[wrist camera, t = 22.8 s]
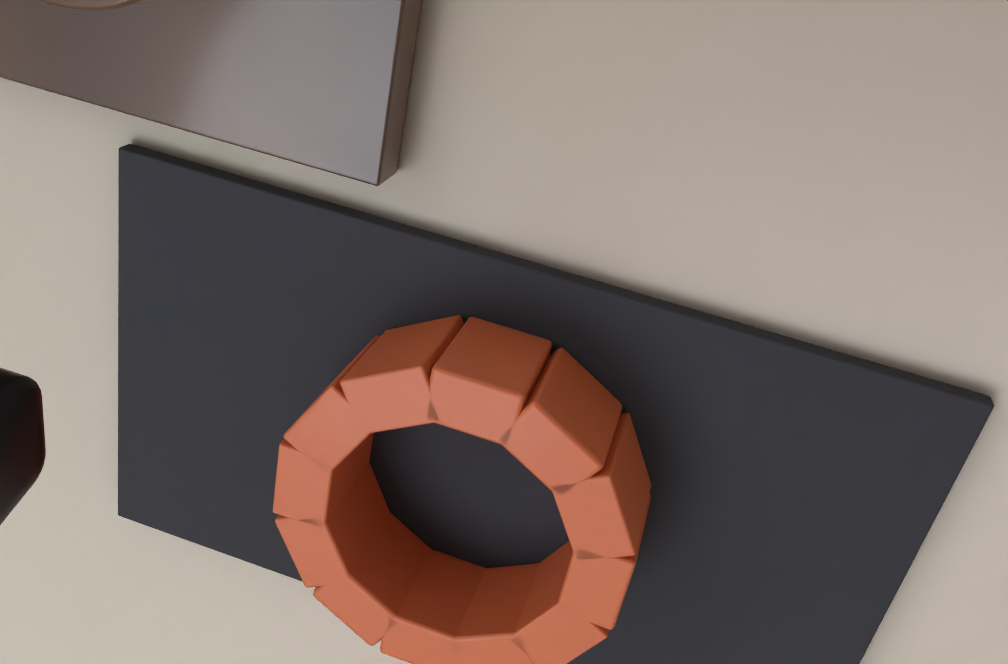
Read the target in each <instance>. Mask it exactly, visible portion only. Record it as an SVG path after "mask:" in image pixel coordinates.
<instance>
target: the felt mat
mask: <svg viewBox="0 0 1008 664" xmlns="http://www.w3.org/2000/svg"><path fill="white" fill-rule="evenodd" d="M456 315H461V317H462V320H463V322H464V324H465V323H466V321H467V320H468V319H469V317H475V318H479V319H482V320H485V321H489V322H492V323H495V324H498V325H502V326H505V327H508V328H511V329H515V330H518V331H521V332H525V333H528V334H531V335H534V336H538V337H541V338H544V339H548V340H550V341H551V343H552V348H551V352H550V355H551V354H552V353H553V352H555V351H556V350H557V349H559V348H563V349H565V350H566V351H567V352H568V353H569V354H570V355H571V356H572V357H573V358H574V359H575V360H576V361H577V362H578V363H579V364H581V365H582V366H583V367H584V368H585V369H586V370H587V371H588V372H589V373H590V374H591V375H592V376H593V377H594V378H595V379H596V380H597V381H598V382H600V383H601V384H602V385H603V386H604V387H605V388H606V389H607V390H608V391H609V392H610V393H611V394H612V395H613V396H614V397H615V398H616V399H617V400H618V401H620V402H621V404H622V406H623V407H622V410H621V413H620V414H623V413H629V414H630V416H631V420H632V423H633V426H634V429H635V433H636V436H637V439H638V443H639V446H640V449H641V452H642V456H643V459H644V462H645V466H646V469H647V472H648V475H649V479H650V482H651V489H650V493H649V494H650V496H651V499H650V503H649V508H648V512H647V517H646V521H645V526H644V530H643V535H642V539H641V543H640V548H639V552H638V557H637V561H636V565H635V568H634V571H633V574H632V577H631V580H630V583H629V586H628V589H627V592H626V594H625V597H624V600H623V603H622V606H621V609H620V612H619V615H618V618H617V621H616V624H615V627H614V628H613V629H612V630H609V633H608V636H607V638H605V639H604V640H602V641H601V642H599V643H598V644H596V645H595V646H593V647H592V648H590V649H589V650H587V651H585V652H584V653H582V654H581V655H579V656H578V657H576V658H575V659H573V660H572V661H570V662H569V663H567V664H859V663H860V661H861V659H862V657H863V655H864V653H865V652H866V650H867V648H868V646H869V644H870V642H871V640H872V638H873V636H874V634H875V632H876V631H877V629H878V627H879V625H880V623H881V621H882V619H883V617H884V615H885V613H886V612H887V610H888V608H889V606H890V604H891V602H892V600H893V598H894V596H895V594H896V592H897V591H898V589H899V587H900V585H901V583H902V581H903V579H904V577H905V575H906V573H907V571H908V570H909V568H910V566H911V564H912V562H913V560H914V558H915V556H916V554H917V552H918V551H919V549H920V547H921V545H922V543H923V541H924V539H925V537H926V535H927V533H928V531H929V530H930V528H931V526H932V524H933V522H934V520H935V518H936V516H937V514H938V512H939V510H940V509H941V507H942V505H943V503H944V501H945V499H946V497H947V495H948V493H949V491H950V490H951V488H952V486H953V484H954V482H955V480H956V478H957V476H958V474H959V472H960V470H961V469H962V467H963V465H964V463H965V461H966V459H967V457H968V455H969V453H970V451H971V450H972V448H973V446H974V444H975V442H976V440H977V438H978V436H979V434H980V432H981V430H982V429H983V427H984V425H985V423H986V421H987V419H988V417H989V415H990V413H991V411H992V409H993V408H994V405H993V402H992V400H991V397H989V396H986V395H983V394H980V393H976V392H973V391H969V390H966V389H963V388H959V387H956V386H952V385H949V384H946V383H942V382H939V381H935V380H932V379H929V378H925V377H922V376H918V375H915V374H912V373H908V372H905V371H901V370H898V369H895V368H891V367H888V366H884V365H881V364H878V363H874V362H871V361H867V360H864V359H860V358H857V357H854V356H850V355H847V354H843V353H840V352H837V351H833V350H830V349H826V348H823V347H820V346H816V345H813V344H809V343H806V342H803V341H799V340H796V339H792V338H789V337H786V336H782V335H779V334H775V333H772V332H769V331H765V330H762V329H758V328H755V327H752V326H748V325H745V324H741V323H738V322H735V321H731V320H728V319H724V318H721V317H718V316H714V315H711V314H707V313H704V312H700V311H697V310H694V309H690V308H687V307H683V306H680V305H677V304H673V303H670V302H666V301H663V300H660V299H656V298H653V297H649V296H646V295H643V294H639V293H636V292H632V291H629V290H626V289H622V288H619V287H615V286H612V285H609V284H605V283H602V282H598V281H595V280H592V279H588V278H585V277H581V276H578V275H575V274H571V273H568V272H564V271H561V270H558V269H554V268H551V267H547V266H544V265H540V264H537V263H534V262H530V261H527V260H523V259H520V258H517V257H513V256H510V255H506V254H503V253H500V252H496V251H493V250H489V249H486V248H483V247H479V246H476V245H472V244H469V243H466V242H462V241H459V240H455V239H452V238H449V237H445V236H442V235H438V234H435V233H432V232H428V231H425V230H421V229H418V228H415V227H411V226H408V225H404V224H401V223H398V222H394V221H391V220H387V219H384V218H380V217H377V216H374V215H370V214H367V213H363V212H360V211H357V210H353V209H350V208H346V207H343V206H340V205H336V204H333V203H329V202H326V201H323V200H319V199H316V198H312V197H309V196H306V195H302V194H299V193H295V192H292V191H289V190H285V189H282V188H278V187H275V186H272V185H268V184H265V183H261V182H258V181H255V180H251V179H248V178H244V177H241V176H238V175H234V174H231V173H227V172H224V171H221V170H217V169H214V168H210V167H207V166H203V165H200V164H197V163H193V162H190V161H186V160H183V159H180V158H176V157H173V156H169V155H166V154H163V153H159V152H156V151H152V150H149V149H146V148H142V147H139V146H135V145H132V144H128V145H125V146H123V147H120V148H119V298H118V515H119V516H122V517H124V518H127V519H130V520H133V521H136V522H138V523H141V524H144V525H147V526H150V527H152V528H155V529H158V530H161V531H163V532H166V533H169V534H172V535H175V536H177V537H180V538H183V539H186V540H189V541H191V542H194V543H197V544H200V545H202V546H205V547H208V548H211V549H214V550H216V551H219V552H222V553H225V554H227V555H230V556H233V557H236V558H239V559H241V560H244V561H247V562H250V563H253V564H255V565H258V566H261V567H264V568H266V569H269V570H272V571H275V572H278V573H280V574H283V575H286V576H289V577H292V578H294V579H297V580H300V581H303V580H302V578H301V576H300V574H299V572H298V570H297V568H296V566H295V563H294V561H293V559H292V557H291V555H290V553H289V551H288V548H287V546H286V544H285V542H284V540H283V538H282V536H281V534H280V531H279V529H278V527H277V525H276V523H275V519H276V518H277V517H278V515H279V514H276V513H274V512H273V503H274V493H275V483H276V473H277V463H278V453H279V444H280V443H281V442H282V441H283V440H284V437H283V436H284V434H285V433H286V431H287V430H288V429H289V428H290V427H291V426H292V425H293V424H294V423H295V422H296V420H297V419H298V418H299V417H300V416H301V415H302V414H303V413H304V412H305V411H306V410H307V408H308V407H309V406H310V405H311V404H312V403H313V402H314V401H315V400H316V399H317V397H318V396H319V395H320V394H321V393H322V392H323V391H324V390H325V389H326V388H327V387H328V385H329V384H330V383H331V382H332V381H333V380H334V379H335V378H336V377H337V376H338V375H339V374H340V373H341V372H342V371H343V370H344V369H345V367H346V366H347V365H348V364H349V363H350V362H351V361H352V360H353V359H354V358H355V357H356V356H357V355H358V354H359V353H360V352H361V351H362V350H363V349H364V348H365V347H366V346H367V344H368V343H369V342H370V341H371V340H372V339H373V338H374V337H375V336H377V335H379V336H381V335H382V334H383V333H384V332H385V331H386V330H389V329H394V328H399V327H404V326H408V325H413V324H418V323H423V322H428V321H432V320H437V319H442V318H447V317H452V316H456ZM369 463H370V465H371V468H372V470H373V472H374V475H375V477H376V480H377V482H378V484H379V487H380V489H381V491H382V494H383V496H384V499H385V501H386V503H387V506H388V508H389V511H390V512H391V513H392V514H393V515H394V516H395V517H396V518H398V519H399V520H400V521H401V522H402V523H403V524H404V525H405V526H406V527H408V528H409V529H410V530H411V531H412V532H413V533H414V534H415V535H416V536H418V537H419V538H420V539H421V540H422V541H423V542H424V543H425V544H426V545H428V546H429V547H430V548H431V549H433V550H436V551H439V552H441V553H444V554H447V555H450V556H453V557H456V558H459V559H462V560H465V561H468V562H470V563H473V564H476V565H479V566H482V567H485V568H494V567H504V566H514V565H524V564H534V563H540V562H541V561H543V560H544V559H545V558H547V557H548V556H549V555H551V554H552V553H554V552H555V551H556V550H558V549H559V548H560V547H562V546H563V545H564V544H566V543H567V542H568V541H569V538H568V535H567V532H566V529H565V527H564V524H563V521H562V518H561V515H560V512H559V509H558V506H557V503H556V501H555V498H554V495H553V492H552V491H551V490H550V489H549V488H548V487H547V486H546V485H545V484H544V483H543V482H541V481H540V480H539V479H538V478H537V477H536V476H535V475H534V474H533V473H532V472H531V471H530V470H529V469H527V468H526V467H525V466H524V465H523V464H522V463H521V462H520V461H519V460H518V459H517V458H516V457H514V456H513V455H512V454H511V453H510V452H509V451H508V450H507V449H506V448H505V447H504V446H503V445H502V444H499V443H495V442H492V441H489V440H486V439H483V438H480V437H477V436H474V435H471V434H468V433H465V432H462V431H458V430H455V429H452V428H449V427H446V426H443V425H440V424H437V423H429V424H423V425H417V426H411V427H405V428H399V429H392V430H386V431H380V432H374V435H373V441H372V447H371V454H370V460H369Z"/></svg>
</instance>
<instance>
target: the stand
mask: <svg viewBox="0 0 1008 664" xmlns="http://www.w3.org/2000/svg"><path fill="white" fill-rule="evenodd" d="M421 3H422V0H0V77H2V78H5V79H9V80H12V81H15V82H19V83H22V84H26V85H29V86H33V87H36V88H40V89H43V90H47V91H50V92H54V93H57V94H61V95H64V96H67V97H71V98H74V99H78V100H81V101H85V102H88V103H92V104H95V105H99V106H102V107H106V108H109V109H112V110H116V111H119V112H123V113H126V114H130V115H133V116H137V117H140V118H144V119H147V120H151V121H154V122H158V123H161V124H164V125H168V126H171V127H175V128H178V129H182V130H185V131H189V132H192V133H196V134H199V135H203V136H206V137H209V138H213V139H216V140H220V141H223V142H227V143H230V144H234V145H237V146H241V147H244V148H248V149H251V150H255V151H258V152H261V153H265V154H268V155H272V156H275V157H279V158H282V159H286V160H289V161H293V162H296V163H300V164H303V165H306V166H310V167H313V168H317V169H320V170H324V171H327V172H331V173H334V174H338V175H341V176H345V177H348V178H352V179H355V180H358V181H362V182H365V183H369V184H372V185H376V186H379V185H380V184H382V183H383V182H384V181H386V180H387V179H388V178H390V177H391V176H392V175H394V174H395V173H396V172H397V166H398V159H399V152H400V145H401V139H402V132H403V125H404V118H405V112H406V105H407V98H408V91H409V84H410V78H411V71H412V64H413V57H414V51H415V44H416V37H417V30H418V23H419V17H420V10H421Z"/></svg>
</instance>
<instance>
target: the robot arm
mask: <svg viewBox="0 0 1008 664" xmlns="http://www.w3.org/2000/svg"><path fill="white" fill-rule="evenodd" d="M45 452H46V450H45V435H44V421H43V406H42V394H41V390H40V388H39V386H38V384H37V383H36V382H35V381H34V380H33V379H31V378H29V377H27V376H24V375H21V374H18V373H15V372H12V371H9V370H6V369H3V368H0V525H1V523H2V522H3V521H4V520H5V518H6V517H7V516H8V515H9V513H10V512H11V511H12V510H13V509H14V507H15V506H16V505H17V504H18V502H19V501H20V500H21V499H22V497H23V496H24V495H25V494H26V492H27V491H28V490H29V489H30V488H31V486H32V485H33V484H34V482H35V481H36V479H37V478H38V476H39V474H40V472H41V470H42V467H43V465H44V460H45Z"/></svg>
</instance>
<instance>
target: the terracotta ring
mask: <svg viewBox="0 0 1008 664" xmlns="http://www.w3.org/2000/svg"><path fill="white" fill-rule="evenodd" d="M551 348H552V343H551V341H550V340H548V339H544V338H541V337H538V336H534V335H531V334H528V333H525V332H521V331H518V330H515V329H511V328H508V327H505V326H502V325H498V324H495V323H492V322H489V321H485V320H482V319H479V318H475V317H469V319H468V320H467V321H466V323H465V324H464V322H463V320H462V317H461V315H456V316H452V317H447V318H442V319H437V320H432V321H428V322H423V323H418V324H413V325H408V326H404V327H399V328H394V329H389V330H386V331H385V332H384V333H383V334H382V335H381V336H379V335H377V336H375V337H374V338H373V339H372V340H371V341H370V342H369V343H368V344H367V346H366V347H365V348H364V349H363V350H362V351H361V352H360V353H359V354H358V355H357V356H356V357H355V358H354V359H353V360H352V361H351V362H350V363H349V364H348V365H347V366H346V367H345V369H344V370H343V371H342V372H341V373H340V374H339V375H338V376H337V377H336V378H335V379H334V380H333V381H332V382H331V383H330V384H329V385H328V387H327V388H326V389H325V390H324V391H323V392H322V393H321V394H320V395H319V396H318V397H317V399H316V400H315V401H314V402H313V403H312V404H311V405H310V406H309V407H308V408H307V410H306V411H305V412H304V413H303V414H302V415H301V416H300V417H299V418H298V419H297V420H296V422H295V423H294V424H293V425H292V426H291V427H290V428H289V429H288V430H287V431H286V433H285V434H284V436H283V437H284V440H283V441H282V442H281V443H280V444H279V453H278V463H277V473H276V483H275V493H274V503H273V512H274V513H276V514H279V515H278V517H277V518H276V519H275V523H276V525H277V527H278V529H279V531H280V534H281V536H282V538H283V540H284V542H285V544H286V546H287V548H288V551H289V553H290V555H291V557H292V559H293V561H294V563H295V566H296V568H297V570H298V572H299V574H300V576H301V578H302V580H303V583H304V585H305V586H306V587H316V588H315V590H314V593H313V595H314V597H315V598H316V599H317V600H319V601H320V602H321V603H322V604H323V605H324V606H325V607H327V608H328V609H329V610H330V611H331V612H332V613H333V614H335V615H336V616H337V617H338V618H339V619H340V620H341V621H343V622H344V623H345V624H346V625H347V626H348V627H349V628H351V629H352V630H353V631H354V632H355V633H356V634H357V635H359V636H360V637H361V638H362V639H363V640H364V641H365V642H367V643H368V644H369V645H371V646H373V645H375V644H376V643H378V642H379V641H380V640H382V641H381V647H380V651H381V652H382V653H384V654H387V655H389V656H392V657H395V658H397V659H400V660H403V661H406V662H408V663H411V664H567V663H569V662H570V661H572V660H573V659H575V658H576V657H578V656H579V655H581V654H582V653H584V652H585V651H587V650H589V649H590V648H592V647H593V646H595V645H596V644H598V643H599V642H601V641H602V640H604V639H605V638H607V636H608V633H609V630H612V629H613V628H614V627H615V624H616V621H617V618H618V615H619V612H620V609H621V606H622V603H623V600H624V597H625V594H626V592H627V589H628V586H629V583H630V580H631V577H632V574H633V571H634V568H635V565H636V561H637V557H638V552H639V548H640V543H641V539H642V535H643V530H644V526H645V521H646V517H647V512H648V508H649V503H650V499H651V496H650V494H649V493H650V489H651V482H650V479H649V475H648V472H647V469H646V466H645V462H644V459H643V456H642V452H641V449H640V446H639V443H638V439H637V436H636V433H635V429H634V426H633V423H632V420H631V416H630V414H629V413H623V414H620V413H621V410H622V407H623V406H622V404H621V402H620V401H618V400H617V399H616V398H615V397H614V396H613V395H612V394H611V393H610V392H609V391H608V390H607V389H606V388H605V387H604V386H603V385H602V384H601V383H600V382H598V381H597V380H596V379H595V378H594V377H593V376H592V375H591V374H590V373H589V372H588V371H587V370H586V369H585V368H584V367H583V366H582V365H581V364H579V363H578V362H577V361H576V360H575V359H574V358H573V357H572V356H571V355H570V354H569V353H568V352H567V351H566V350H565V349H563V348H559V349H557V350H556V351H555V352H553V353H552V354H551V355H550V352H551ZM429 423H437V424H440V425H443V426H446V427H449V428H452V429H455V430H458V431H462V432H465V433H468V434H471V435H474V436H477V437H480V438H483V439H486V440H489V441H492V442H495V443H499V444H502V445H503V446H504V447H505V448H506V449H507V450H508V451H509V452H510V453H511V454H512V455H513V456H514V457H516V458H517V459H518V460H519V461H520V462H521V463H522V464H523V465H524V466H525V467H526V468H527V469H529V470H530V471H531V472H532V473H533V474H534V475H535V476H536V477H537V478H538V479H539V480H540V481H541V482H543V483H544V484H545V485H546V486H547V487H548V488H549V489H550V490H551V491H552V492H553V495H554V498H555V501H556V503H557V506H558V509H559V512H560V515H561V518H562V521H563V524H564V527H565V529H566V532H567V535H568V538H569V541H568V542H567V543H566V544H564V545H563V546H562V547H560V548H559V549H558V550H556V551H555V552H554V553H552V554H551V555H549V556H548V557H547V558H545V559H544V560H543V561H541V562H540V563H534V564H524V565H514V566H504V567H494V568H485V567H482V566H479V565H476V564H473V563H470V562H468V561H465V560H462V559H459V558H456V557H453V556H450V555H447V554H444V553H441V552H439V551H436V550H433V549H431V548H430V547H429V546H428V545H426V544H425V543H424V542H423V541H422V540H421V539H420V538H419V537H418V536H416V535H415V534H414V533H413V532H412V531H411V530H410V529H409V528H408V527H406V526H405V525H404V524H403V523H402V522H401V521H400V520H399V519H398V518H396V517H395V516H394V515H393V514H392V513H391V512H390V511H389V508H388V506H387V503H386V501H385V499H384V496H383V494H382V491H381V489H380V487H379V484H378V482H377V480H376V477H375V475H374V472H373V470H372V468H371V465H370V463H369V460H370V454H371V447H372V441H373V435H374V432H380V431H386V430H392V429H399V428H405V427H411V426H417V425H423V424H429Z"/></svg>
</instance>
